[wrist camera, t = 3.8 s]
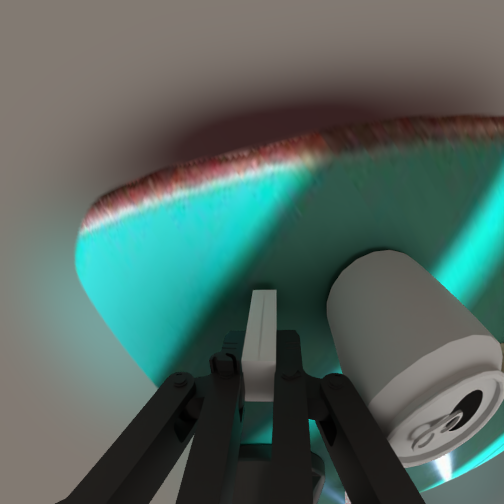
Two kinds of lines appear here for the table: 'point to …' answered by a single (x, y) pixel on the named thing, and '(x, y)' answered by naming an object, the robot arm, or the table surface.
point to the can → (414, 355)
